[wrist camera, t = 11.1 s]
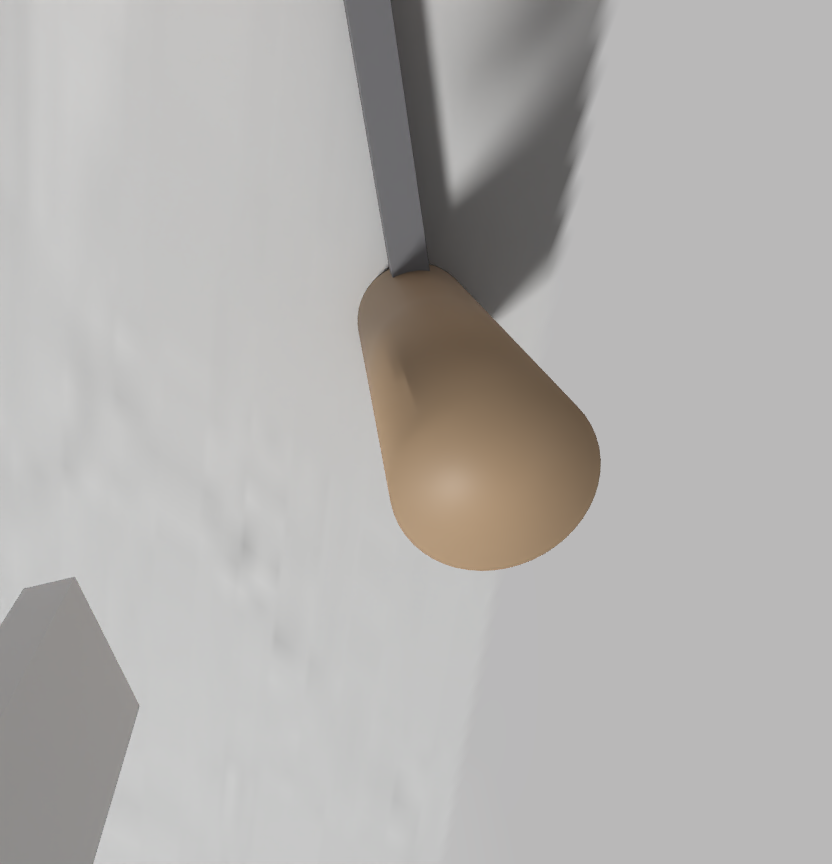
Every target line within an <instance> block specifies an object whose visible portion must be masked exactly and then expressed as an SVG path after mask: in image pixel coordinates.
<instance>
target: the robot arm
mask: <svg viewBox="0 0 832 864" xmlns="http://www.w3.org/2000/svg"><path fill="white" fill-rule="evenodd" d="M138 710H139V704H138V702H137V700H136V698H135V696H134V694H133V692H132V690H131V688H130V686H129V684H128V682H127V680H126V678H125V676H124V674H123V672H122V670H121V668H120V666H119V664H118V662H117V660H116V658H115V656H114V654H113V652H112V650H111V648H110V646H109V644H108V642H107V640H106V638H105V636H104V634H103V632H102V630H101V628H100V626H99V624H98V622H97V620H96V618H95V616H94V614H93V612H92V610H91V608H90V606H89V604H88V602H87V600H86V598H85V596H84V594H83V592H82V590H81V588H80V586H79V584H78V582H77V580H76V578H75V577H72V578H68V579H63V580H59V581H55V582H51V583H46V584H42V585H38V586H33V587H29V588H25V589H23V591H22V592H21V594H20V595H19V597H18V599H17V600H16V602H15V603H14V605H13V607H12V608H11V610H10V611H9V613H8V614H7V616H6V618H5V619H4V621H3V622H2V624H1V626H0V864H93V862H94V858H95V855H96V852H97V848H98V845H99V842H100V838H101V835H102V831H103V828H104V825H105V821H106V818H107V814H108V811H109V808H110V804H111V801H112V798H113V794H114V791H115V787H116V784H117V781H118V777H119V774H120V771H121V767H122V764H123V760H124V757H125V754H126V750H127V747H128V744H129V740H130V737H131V733H132V730H133V727H134V723H135V720H136V717H137V713H138Z"/></svg>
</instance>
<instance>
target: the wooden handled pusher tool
mask: <svg viewBox="0 0 832 864" xmlns="http://www.w3.org/2000/svg"><path fill="white" fill-rule="evenodd" d="M344 6H345V12H346V18H347V24H348V29H349V35H350V41H351V47H352V53H353V59H354V65H355V70H356V76H357V82H358V88H359V94H360V100H361V105H362V111H363V117H364V123H365V129H366V135H367V141H368V146H369V152H370V158H371V164H372V170H373V176H374V182H375V187H376V193H377V199H378V205H379V211H380V217H381V222H382V228H383V234H384V240H385V246H386V252H387V258H388V263H389V270H387V271H385V272H384V273H382V274H381V275H380V276H378V277H377V278H376V279H375V280H374V281H373V282H372V283H371V285H370V286H369V287H368V288H367V290H366V292H365V293H364V295H363V298H362V300H361V303H360V306H359V311H358V330H359V336H360V341H361V346H362V352H363V357H364V362H365V368H366V373H367V378H368V384H369V389H370V394H371V400H372V405H373V410H374V416H375V421H376V426H377V432H378V437H379V442H380V448H381V453H382V458H383V464H384V469H385V474H386V480H387V485H388V490H389V496H390V501H391V505H392V509H393V512H394V515H395V517H396V520H397V522H398V524H399V526H400V528H401V529H402V531H403V532H404V534H405V535H406V536H407V538H408V539H409V540H410V541H411V542H412V543H413V544H414V545H415V546H416V547H417V548H418V549H420V550H421V551H422V552H423V553H425V554H426V555H428V556H430V557H431V558H433V559H435V560H437V561H439V562H441V563H443V564H446V565H449V566H453V567H456V568H461V569H466V570H478V571H486V570H498V569H505V568H509V567H513V566H517V565H520V564H523V563H526V562H528V561H530V560H533V559H535V558H537V557H539V556H541V555H543V554H544V553H546V552H548V551H549V550H551V549H552V548H554V547H555V546H556V545H558V544H559V543H560V542H561V541H563V540H564V539H565V538H566V537H567V536H568V535H569V534H570V533H571V532H572V531H573V530H574V529H575V528H576V526H577V525H578V524H579V523H580V521H581V520H582V519H583V517H584V515H585V514H586V512H587V511H588V509H589V507H590V505H591V503H592V501H593V498H594V496H595V493H596V490H597V486H598V482H599V476H600V461H601V459H600V451H599V445H598V442H597V438H596V435H595V433H594V431H593V428H592V426H591V424H590V422H589V421H588V420H587V418H586V416H585V415H584V414H583V412H582V411H581V410H580V409H579V408H578V407H577V406H576V405H575V404H574V403H573V402H572V400H571V399H570V398H569V397H568V396H567V395H566V394H565V393H564V392H563V391H562V390H561V389H560V388H559V387H558V386H557V385H556V384H555V383H554V382H553V381H552V379H551V378H550V377H549V376H548V375H547V374H546V373H545V372H544V371H543V370H542V369H541V368H540V367H539V366H538V365H537V364H536V363H535V362H534V361H533V360H532V359H531V358H530V356H529V355H528V354H527V353H526V352H525V351H524V350H523V349H522V348H521V347H520V346H519V345H518V344H517V343H516V342H515V341H514V340H513V339H512V338H511V337H510V336H509V335H508V334H507V332H506V331H505V330H504V329H503V328H502V327H501V326H500V325H499V324H498V323H497V322H496V321H495V320H494V319H493V318H492V317H491V316H490V315H489V314H488V313H487V312H486V311H485V310H484V308H483V307H482V306H481V305H480V304H479V303H478V302H477V301H476V300H475V299H474V298H473V297H472V296H471V295H470V294H469V293H468V292H467V291H466V290H465V289H464V288H463V287H462V285H461V284H460V283H459V282H458V281H457V280H456V279H455V278H454V277H453V276H451V275H450V274H449V273H448V272H446V271H444V270H443V269H441V268H439V267H436V266H434V265H430V264H429V262H428V255H427V248H426V241H425V234H424V227H423V221H422V214H421V207H420V200H419V193H418V186H417V179H416V172H415V166H414V159H413V152H412V145H411V138H410V131H409V124H408V117H407V111H406V104H405V97H404V90H403V83H402V76H401V69H400V62H399V55H398V49H397V42H396V35H395V28H394V21H393V14H392V7H391V0H344Z"/></svg>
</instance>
